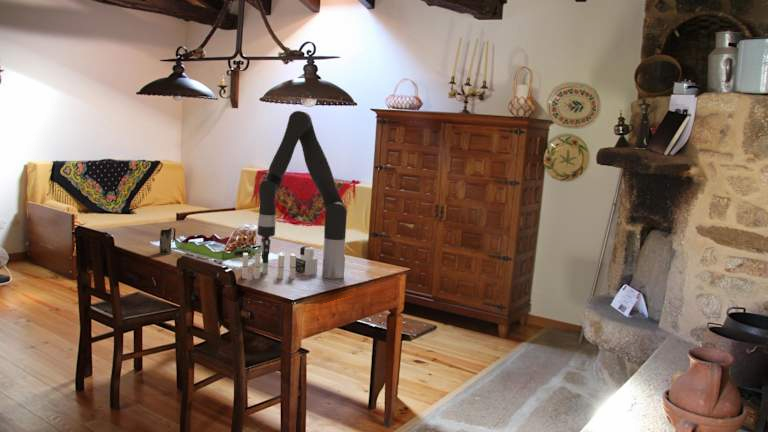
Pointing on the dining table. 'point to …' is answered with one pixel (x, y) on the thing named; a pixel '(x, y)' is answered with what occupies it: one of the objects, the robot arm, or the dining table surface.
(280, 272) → the domino
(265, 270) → the domino
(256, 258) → the domino
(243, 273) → the domino
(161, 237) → the mug
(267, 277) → the dining table surface
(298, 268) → the medicine bottle
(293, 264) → the domino
